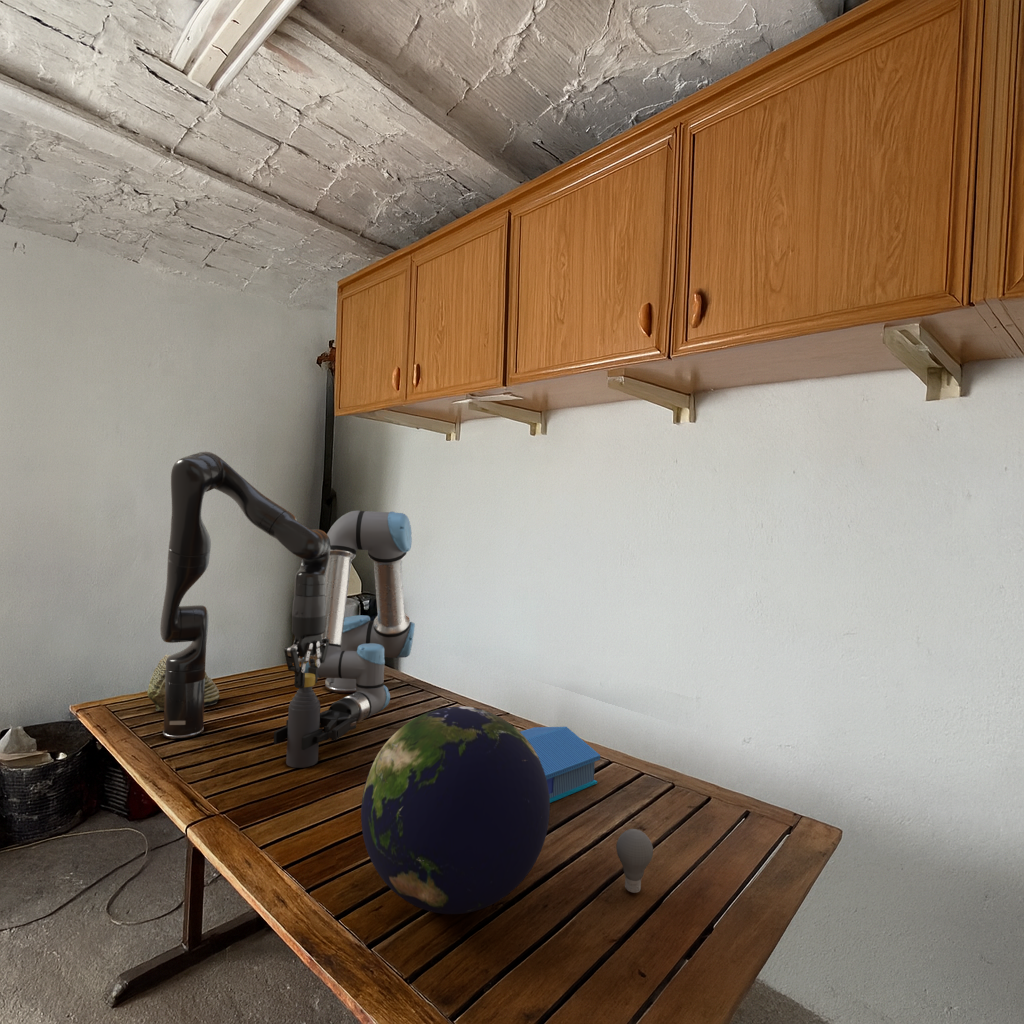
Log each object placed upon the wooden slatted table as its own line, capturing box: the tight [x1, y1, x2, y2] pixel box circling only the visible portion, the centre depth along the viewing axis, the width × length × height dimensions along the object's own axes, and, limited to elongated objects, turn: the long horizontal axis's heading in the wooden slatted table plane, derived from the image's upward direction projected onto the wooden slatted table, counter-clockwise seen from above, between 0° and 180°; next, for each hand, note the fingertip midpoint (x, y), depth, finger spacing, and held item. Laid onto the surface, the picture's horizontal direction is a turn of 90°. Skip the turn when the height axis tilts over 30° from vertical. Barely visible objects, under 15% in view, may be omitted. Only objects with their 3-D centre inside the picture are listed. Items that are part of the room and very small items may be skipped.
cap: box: [304, 673, 316, 687], centre depth 151 cm, size 4×4×2 cm
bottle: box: [285, 686, 321, 769], centre depth 151 cm, size 7×7×20 cm
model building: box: [519, 726, 601, 804], centre depth 139 cm, size 39×24×10 cm, turn 132°
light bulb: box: [615, 828, 654, 894], centre depth 106 cm, size 6×6×10 cm
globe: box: [360, 705, 551, 915], centre depth 102 cm, size 30×30×30 cm
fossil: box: [147, 654, 221, 712], centre depth 185 cm, size 9×18×15 cm, turn 132°
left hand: (306, 684), depth 151 cm, fingers closed on cap, 4 cm apart
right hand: (289, 740), depth 146 cm, fingers closed on bottle, 7 cm apart
